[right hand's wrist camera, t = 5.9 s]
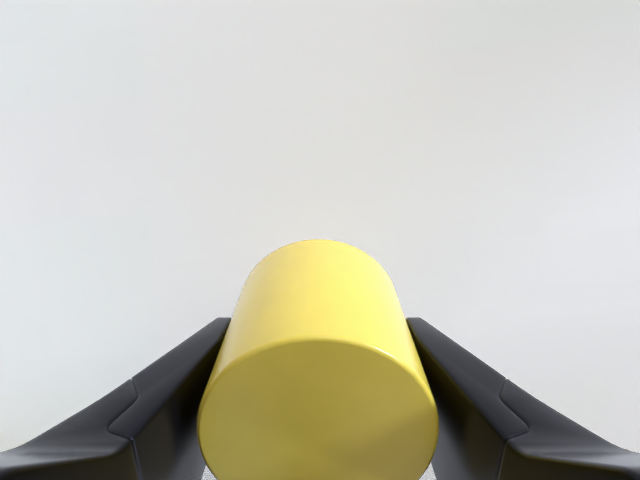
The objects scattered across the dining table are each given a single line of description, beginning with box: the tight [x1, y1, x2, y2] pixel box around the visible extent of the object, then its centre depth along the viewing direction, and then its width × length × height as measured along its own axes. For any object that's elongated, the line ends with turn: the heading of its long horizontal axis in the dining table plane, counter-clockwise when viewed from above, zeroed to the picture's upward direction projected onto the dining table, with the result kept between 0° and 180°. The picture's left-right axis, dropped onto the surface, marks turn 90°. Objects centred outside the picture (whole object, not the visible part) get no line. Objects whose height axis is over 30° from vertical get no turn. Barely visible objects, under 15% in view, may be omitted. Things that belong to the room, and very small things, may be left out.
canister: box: [196, 240, 439, 480], centre depth 10 cm, size 5×5×5 cm
